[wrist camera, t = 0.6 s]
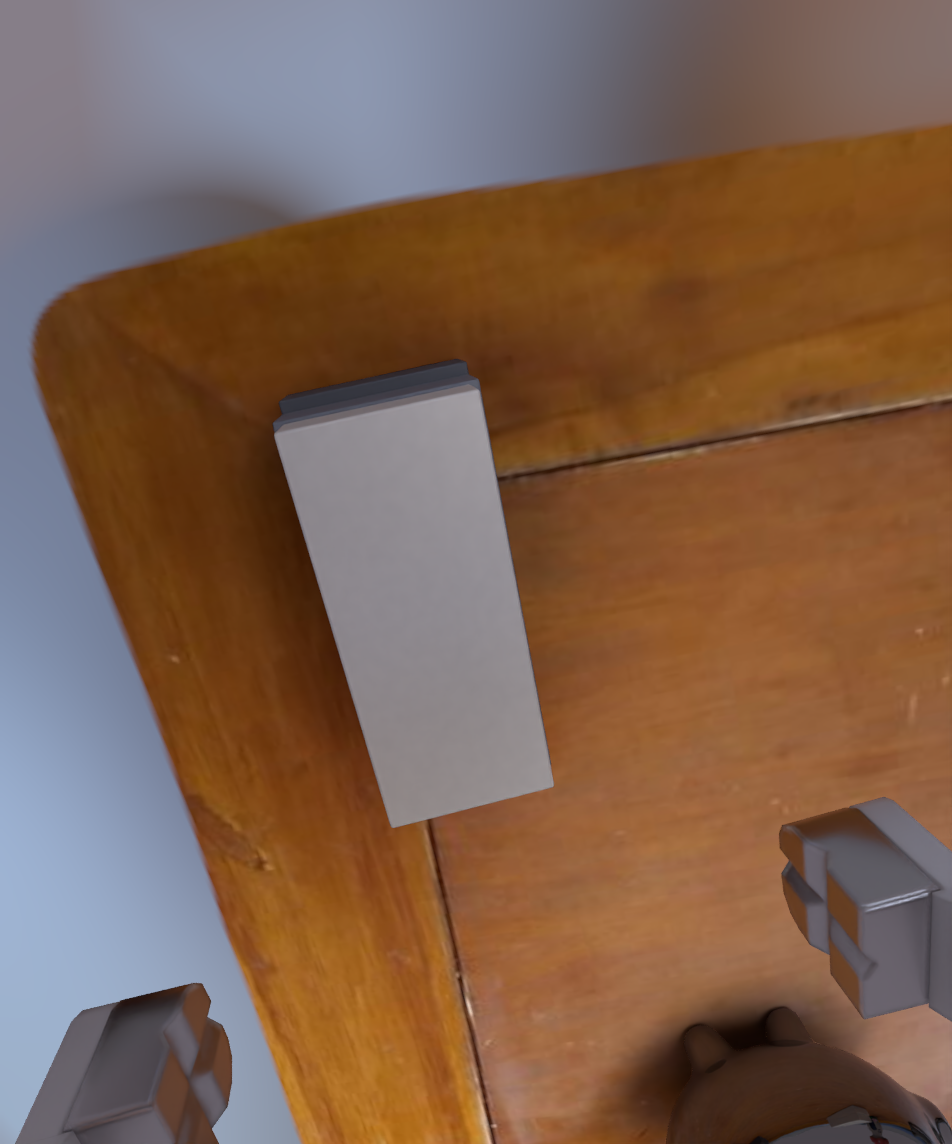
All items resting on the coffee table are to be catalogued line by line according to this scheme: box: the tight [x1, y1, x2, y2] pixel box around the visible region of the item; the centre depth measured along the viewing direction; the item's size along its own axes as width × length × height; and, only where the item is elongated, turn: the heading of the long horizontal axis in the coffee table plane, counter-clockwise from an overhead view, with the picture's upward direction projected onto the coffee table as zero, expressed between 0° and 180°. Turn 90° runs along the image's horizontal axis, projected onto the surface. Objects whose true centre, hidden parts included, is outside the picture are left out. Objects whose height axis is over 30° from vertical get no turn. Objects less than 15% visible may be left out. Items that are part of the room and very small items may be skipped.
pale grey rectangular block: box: [274, 385, 554, 828], centre depth 21 cm, size 13×6×2 cm, turn 11°
